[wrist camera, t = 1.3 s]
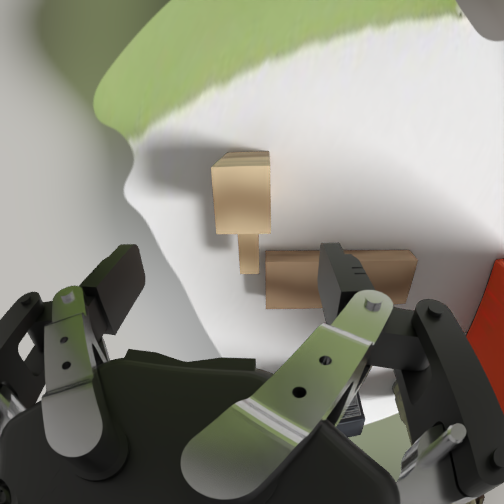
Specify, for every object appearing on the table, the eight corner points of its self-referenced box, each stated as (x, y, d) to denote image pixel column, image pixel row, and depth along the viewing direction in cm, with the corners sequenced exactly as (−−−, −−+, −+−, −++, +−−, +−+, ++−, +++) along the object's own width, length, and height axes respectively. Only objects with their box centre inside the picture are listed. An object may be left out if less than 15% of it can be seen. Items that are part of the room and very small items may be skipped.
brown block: (265, 250, 30) (265, 261, 28) (409, 250, 29) (417, 260, 27) (266, 296, 33) (265, 308, 31) (398, 292, 32) (405, 303, 30)
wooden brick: (226, 152, 25) (211, 167, 18) (269, 151, 25) (269, 165, 18) (233, 254, 31) (223, 299, 23) (270, 254, 30) (270, 299, 23)
